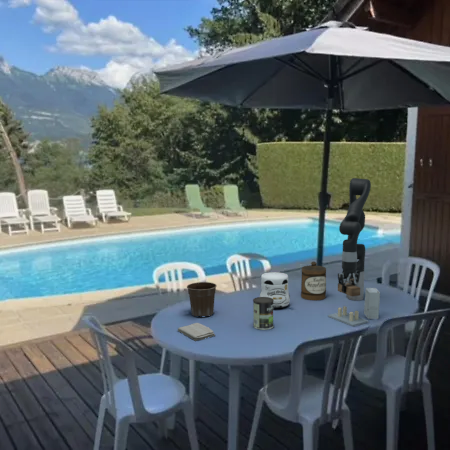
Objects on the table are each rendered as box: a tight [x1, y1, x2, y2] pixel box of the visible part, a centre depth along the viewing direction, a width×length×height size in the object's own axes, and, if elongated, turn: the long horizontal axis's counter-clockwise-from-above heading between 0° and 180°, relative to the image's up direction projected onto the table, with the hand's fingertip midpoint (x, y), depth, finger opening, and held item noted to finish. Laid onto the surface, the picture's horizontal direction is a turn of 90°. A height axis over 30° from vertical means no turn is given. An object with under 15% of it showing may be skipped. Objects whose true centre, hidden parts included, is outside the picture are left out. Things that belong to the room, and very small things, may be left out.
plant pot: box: [186, 281, 217, 317], centre depth 269 cm, size 16×16×16 cm
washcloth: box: [177, 322, 216, 342], centre depth 241 cm, size 12×18×3 cm, turn 37°
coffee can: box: [252, 296, 274, 331], centre depth 249 cm, size 10×10×14 cm
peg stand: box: [327, 305, 369, 327], centre depth 258 cm, size 18×11×6 cm, turn 31°
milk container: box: [259, 271, 291, 309], centre depth 282 cm, size 17×17×18 cm
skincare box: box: [363, 287, 381, 320], centre depth 261 cm, size 8×6×15 cm
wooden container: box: [300, 261, 327, 301], centre depth 297 cm, size 15×15×22 cm
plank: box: [337, 282, 360, 296], centre depth 256 cm, size 12×5×4 cm, turn 23°
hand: (348, 291), depth 256 cm, fingers closed on plank, 5 cm apart
